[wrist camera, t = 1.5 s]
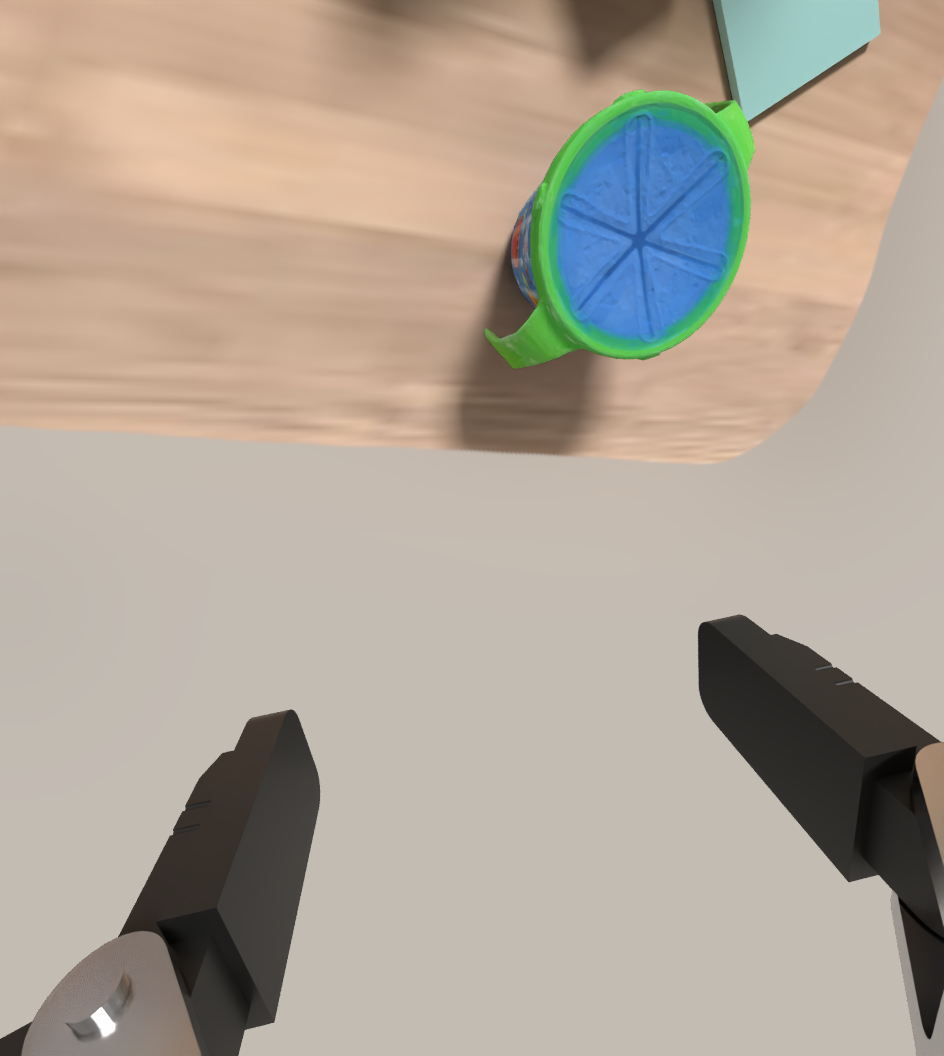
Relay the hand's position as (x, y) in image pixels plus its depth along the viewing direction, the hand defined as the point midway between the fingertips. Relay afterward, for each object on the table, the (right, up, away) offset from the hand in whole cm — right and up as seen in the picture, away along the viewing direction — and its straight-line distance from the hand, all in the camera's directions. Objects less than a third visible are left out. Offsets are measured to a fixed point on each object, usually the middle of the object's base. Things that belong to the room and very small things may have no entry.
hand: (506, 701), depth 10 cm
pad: (+17, +34, +18) cm, 42 cm away
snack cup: (+5, +21, +22) cm, 31 cm away
